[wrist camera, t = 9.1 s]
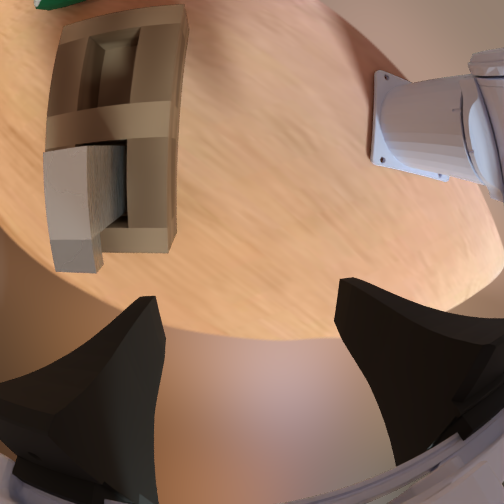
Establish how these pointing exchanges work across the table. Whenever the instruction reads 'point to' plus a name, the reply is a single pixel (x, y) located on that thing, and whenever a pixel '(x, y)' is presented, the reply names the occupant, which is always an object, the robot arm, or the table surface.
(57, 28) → the table surface
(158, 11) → the tan divided tray
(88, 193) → the white rectangular pillar
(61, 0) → the green elongated piece
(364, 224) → the table surface
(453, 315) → the robot arm
